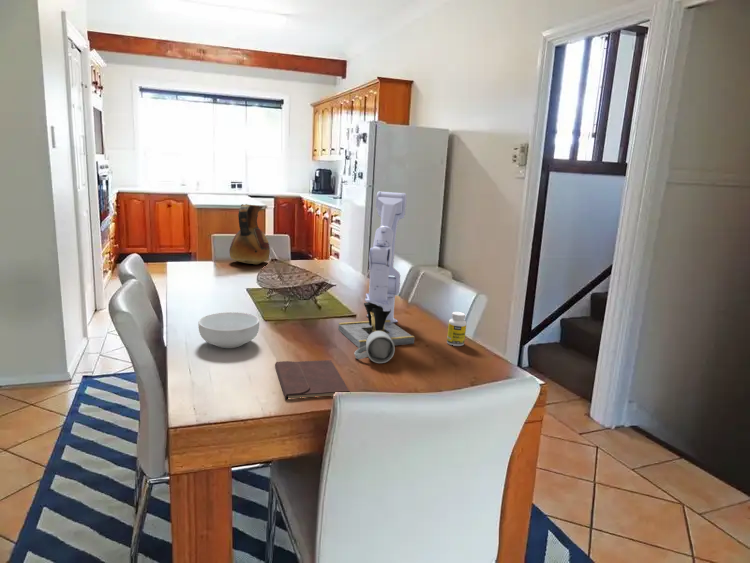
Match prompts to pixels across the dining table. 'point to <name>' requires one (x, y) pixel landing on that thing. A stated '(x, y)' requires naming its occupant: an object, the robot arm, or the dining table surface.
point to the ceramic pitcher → (249, 238)
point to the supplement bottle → (456, 329)
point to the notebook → (309, 378)
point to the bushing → (374, 323)
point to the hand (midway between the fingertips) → (375, 327)
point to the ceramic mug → (377, 348)
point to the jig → (360, 330)
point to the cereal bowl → (228, 329)
